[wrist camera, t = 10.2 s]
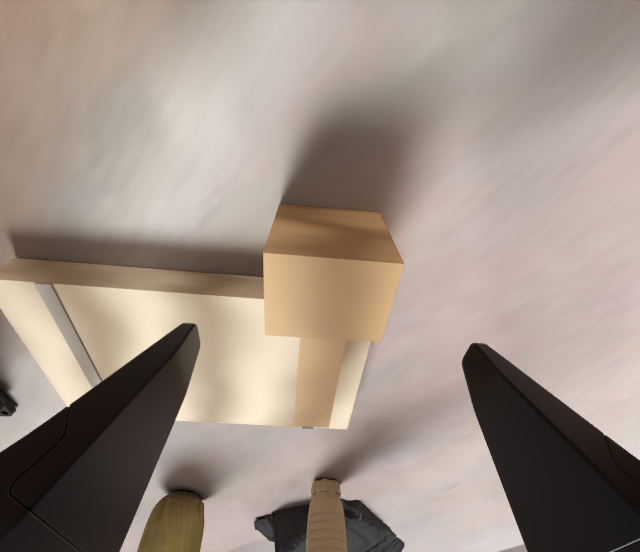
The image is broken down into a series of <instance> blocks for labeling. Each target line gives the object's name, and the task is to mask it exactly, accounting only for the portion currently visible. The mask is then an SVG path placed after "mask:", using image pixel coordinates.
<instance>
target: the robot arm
mask: <svg viewBox="0 0 640 552" xmlns="http://www.w3.org/2000/svg"><path fill="white" fill-rule="evenodd" d="M200 344H201V342H200V337H199V331H198V327H197V325H196V324H194V323H182V324H180V325H179V326H178V327H176V328H175V329H173V330H172V331H171V332H169V333H168V334H166V335H165V336H164V337H162V338H161V339H160V340H158V341H157V342H155V343H154V344H153V345H151V346H150V347H149V348H147V349H146V350H144V351H143V352H142V353H140V354H139V355H138V356H136V357H135V358H133V359H132V360H131V361H129V362H128V363H126V364H125V365H124V366H122V367H121V368H120V369H118V370H117V371H115V372H114V373H113V374H111V375H110V376H109V377H107V378H106V379H104V380H103V381H102V382H100V383H99V384H97V385H96V386H95V387H93V388H92V389H91V390H89V391H88V392H86V393H85V394H84V395H82V396H81V397H80V398H78V399H77V400H75V401H74V402H73V403H71V404H70V406H69V407H66V408H64V409H63V410H61V411H60V412H59V413H57V414H56V415H55V416H53V417H52V418H50V419H49V420H47V421H46V422H45V423H43V424H42V425H40V426H39V427H37V428H36V429H35V430H33V431H32V432H30V433H29V434H27V435H26V436H25V437H23V438H22V439H20V440H18V441H17V442H15V443H14V444H12V445H11V446H9V447H8V448H6V449H5V450H3V451H2V452H0V552H119V551H120V549H121V547H122V544H123V542H124V540H125V537H126V535H127V533H128V530H129V528H130V526H131V523H132V521H133V519H134V516H135V514H136V511H137V509H138V507H139V504H140V502H141V500H142V497H143V495H144V493H145V490H146V488H147V486H148V483H149V481H150V479H151V476H152V474H153V471H154V469H155V467H156V464H157V462H158V460H159V457H160V455H161V453H162V450H163V448H164V446H165V443H166V441H167V439H168V436H169V434H170V431H171V429H172V427H173V424H174V422H175V420H176V417H177V415H178V413H179V410H180V408H181V406H182V403H183V401H184V398H185V396H186V393H187V390H188V387H189V384H190V380H191V377H192V374H193V370H194V367H195V363H196V360H197V357H198V353H199V350H200ZM462 367H463V371H464V374H465V378H466V382H467V386H468V390H469V393H470V397H471V401H472V404H473V408H474V411H475V414H476V417H477V419H478V422H479V425H480V427H481V430H482V432H483V435H484V438H485V440H486V443H487V446H488V448H489V451H490V454H491V456H492V459H493V462H494V464H495V467H496V470H497V472H498V475H499V477H500V480H501V483H502V485H503V488H504V491H505V493H506V496H507V499H508V501H509V504H510V507H511V509H512V512H513V514H514V517H515V520H516V522H517V525H518V528H519V530H520V533H521V536H522V538H523V541H524V544H525V546H526V549H527V551H528V552H640V460H638V459H637V458H636V457H634V456H633V455H632V454H630V453H629V452H628V451H626V450H625V449H623V448H622V447H621V446H620V445H618V444H617V443H616V442H614V441H613V440H612V439H610V438H609V437H608V436H606V435H604V434H603V433H602V432H601V431H600V430H598V429H597V428H596V427H594V426H593V425H592V424H590V423H589V422H588V421H587V420H585V419H584V418H583V417H581V416H580V415H579V414H577V413H576V412H575V411H573V410H572V409H571V408H569V407H568V406H567V405H565V404H564V403H563V402H562V401H560V400H559V399H558V398H556V397H555V396H554V395H552V394H551V393H550V392H548V391H547V390H546V389H544V388H543V387H542V386H540V385H539V384H538V383H537V382H535V381H534V380H533V379H531V378H530V377H529V376H527V375H526V374H525V373H523V372H522V371H521V370H519V369H518V368H517V367H515V366H514V365H513V364H512V363H510V362H509V361H508V360H506V359H505V358H504V357H502V356H501V355H500V354H498V353H497V352H496V351H494V350H493V349H492V348H490V347H489V346H488V345H486V344H483V343H472V344H471V345H470V346H469V348H468V350H467V352H466V354H465V355H464V357H463V360H462ZM15 411H16V408H15V407H14V406H13V405H12V404H11V402H10V401H9V400H8V399H7V398H6V397H5V395H4V394H3V393H2V392H1V391H0V416H12V415H13V414H14V412H15Z"/></svg>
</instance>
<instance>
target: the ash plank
mask: <svg viewBox="0 0 640 552" xmlns="http://www.w3.org/2000/svg"><path fill="white" fill-rule="evenodd" d="M0 309H1V310H2V312H3V313H4V315H5V316H6V317H7V319H8V320H9V322H10V323H11V325H12V326H13V328H14V329H15V331H16V332H17V334H18V335H19V337H20V338H21V340H22V341H23V342H24V344H25V345H26V347H27V348H28V350H29V351H30V353H31V354H32V356H33V357H34V359H35V360H36V362H37V363H38V364H39V366H40V367H41V369H42V370H43V372H44V373H45V375H46V376H47V378H48V379H49V381H50V382H51V384H52V385H53V387H54V388H55V389H56V391H57V392H58V394H59V395H60V397H61V398H62V400H63V401H64V403H65V404H66V406H67V407H69V406H70V404H71V403H73V402H74V401H75V400H77V399H78V398H80V397H81V396H82V395H84V394H85V393H86V392H88V391H89V390H91V389H92V388H93V387H95V386H96V385H97V384H99V383H100V382H102V381H103V380H104V379H106V378H107V377H109V376H110V375H111V374H113V373H114V372H115V371H117V370H118V369H120V368H121V367H122V366H124V365H125V364H126V363H128V362H129V361H131V360H132V359H133V358H135V357H136V356H138V355H139V354H140V353H142V352H143V351H144V350H146V349H147V348H149V347H150V346H151V345H153V344H154V343H155V342H157V341H158V340H160V339H161V338H162V337H164V336H165V335H166V334H168V333H169V332H171V331H172V330H173V329H175V328H176V327H178V326H179V325H180V324H182V323H194V324H196V325H197V327H198V331H199V337H200V342H201V344H200V350H199V353H198V357H197V360H196V363H195V367H194V370H193V374H192V377H191V380H190V384H189V387H188V390H187V393H186V396H185V398H184V401H183V403H182V406H181V408H180V410H179V413H178V415H177V417H176V420H177V421H196V422H216V423H236V424H255V425H275V426H294V413H295V399H296V386H297V372H298V359H299V346H300V337H286V336H270V335H265V319H264V277H254V276H241V275H229V274H216V273H203V272H190V271H177V270H164V269H152V268H139V267H126V266H113V265H100V264H87V263H75V262H62V261H49V260H36V259H23V258H15V259H13V260H11V261H10V262H8V263H6V264H4V265H2V266H1V267H0ZM370 343H371V342H364V341H348V340H346V345H345V350H344V355H343V360H342V365H341V370H340V375H339V380H338V385H337V390H336V395H335V400H334V405H333V410H332V414H331V419H330V424H329V428H334V429H347V427H348V424H349V420H350V416H351V413H352V409H353V405H354V402H355V398H356V395H357V391H358V387H359V384H360V380H361V376H362V373H363V369H364V365H365V362H366V358H367V354H368V351H369V347H370ZM294 427H302V428H308V429H313V427H306V426H294ZM314 428H327V427H314Z"/></svg>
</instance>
